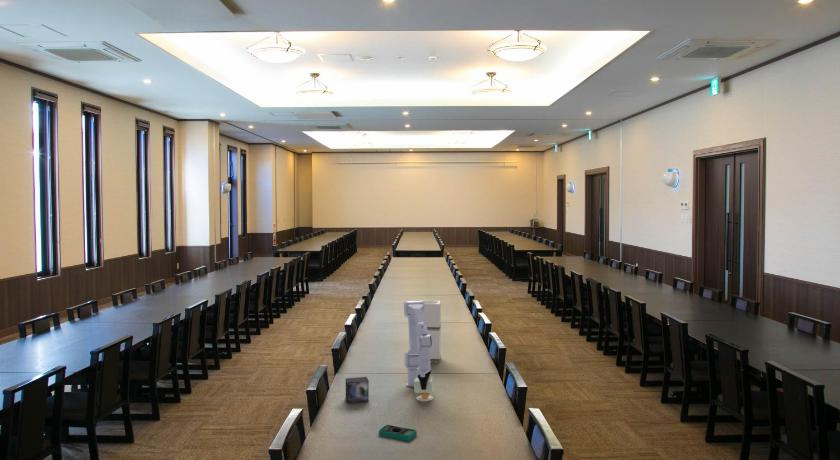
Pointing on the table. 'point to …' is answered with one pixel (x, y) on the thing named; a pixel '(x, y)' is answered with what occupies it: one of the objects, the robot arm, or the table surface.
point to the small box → (357, 389)
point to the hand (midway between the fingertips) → (424, 387)
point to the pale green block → (418, 387)
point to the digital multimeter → (397, 432)
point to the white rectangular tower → (433, 327)
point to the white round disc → (424, 399)
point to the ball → (424, 395)
